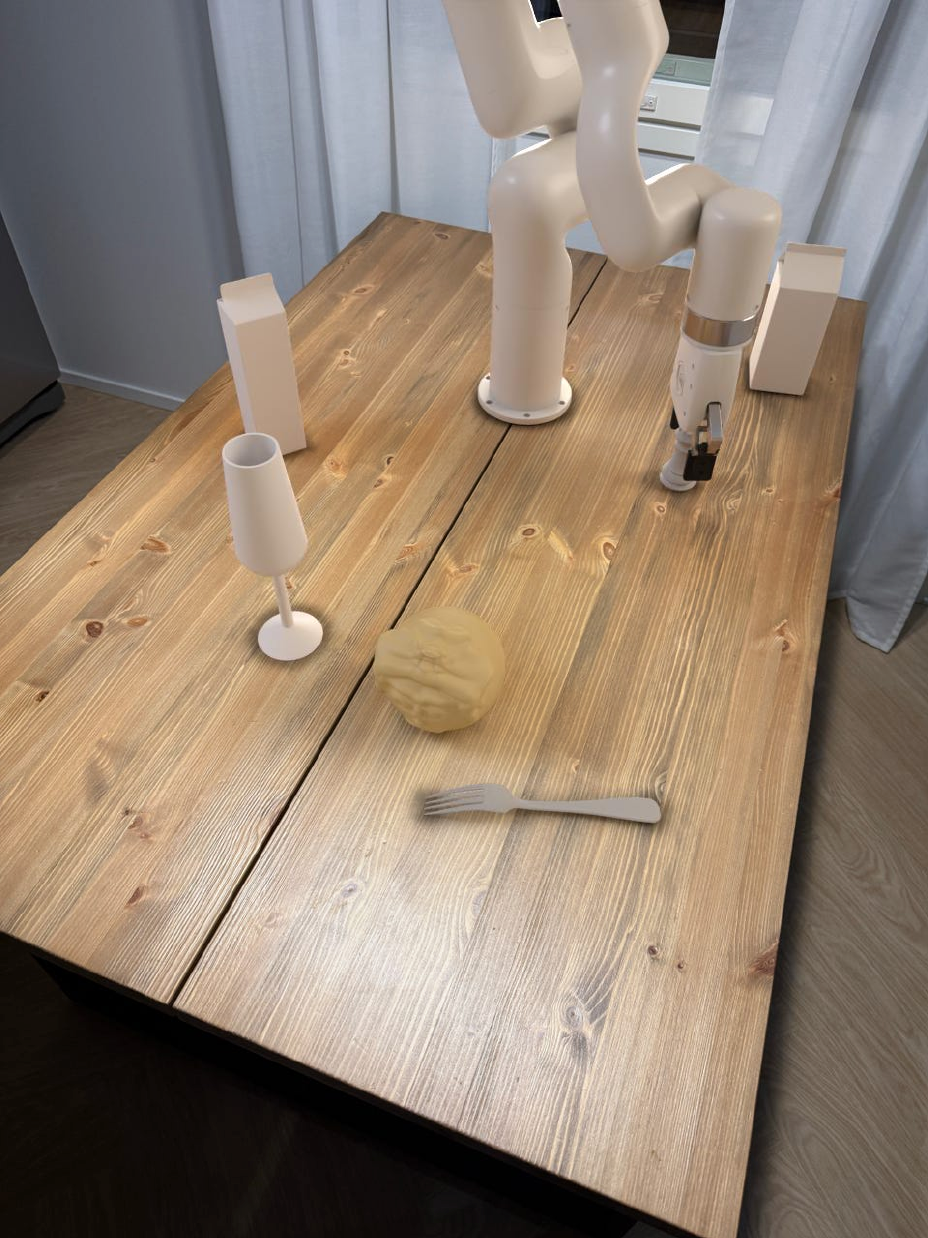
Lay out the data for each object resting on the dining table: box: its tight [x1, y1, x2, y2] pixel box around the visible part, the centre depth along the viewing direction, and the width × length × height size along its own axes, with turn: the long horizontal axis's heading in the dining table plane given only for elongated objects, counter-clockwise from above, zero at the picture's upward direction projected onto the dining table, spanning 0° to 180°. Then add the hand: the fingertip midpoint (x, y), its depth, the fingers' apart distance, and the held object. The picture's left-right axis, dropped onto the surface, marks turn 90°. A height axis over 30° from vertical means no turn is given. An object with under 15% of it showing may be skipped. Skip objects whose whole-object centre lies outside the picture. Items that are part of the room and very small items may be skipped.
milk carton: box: [749, 241, 848, 396], centre depth 116 cm, size 7×7×19 cm
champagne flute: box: [221, 433, 324, 661], centre depth 83 cm, size 7×7×24 cm
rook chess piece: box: [659, 424, 704, 493], centre depth 106 cm, size 4×4×8 cm
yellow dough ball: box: [372, 605, 507, 734], centre depth 83 cm, size 12×12×11 cm
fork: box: [423, 782, 662, 824], centre depth 79 cm, size 3×21×3 cm, turn 89°
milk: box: [216, 272, 307, 456], centre depth 105 cm, size 6×6×22 cm
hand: (689, 452), depth 105 cm, fingers open, 9 cm apart
